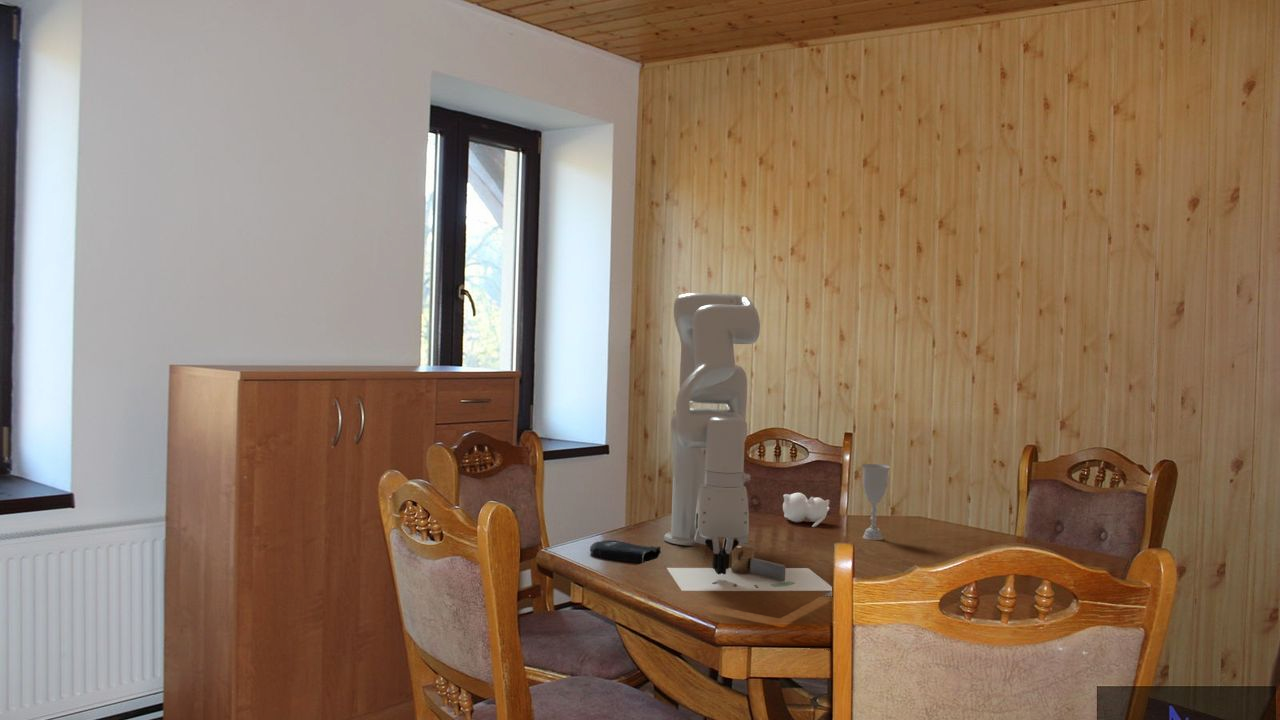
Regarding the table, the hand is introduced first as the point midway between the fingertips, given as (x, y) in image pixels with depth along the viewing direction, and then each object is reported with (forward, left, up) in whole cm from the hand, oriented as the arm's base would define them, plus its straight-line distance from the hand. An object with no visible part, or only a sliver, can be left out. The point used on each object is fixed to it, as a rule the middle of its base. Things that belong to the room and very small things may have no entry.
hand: (720, 572), depth 197 cm
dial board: (-1, +6, -3) cm, 7 cm away
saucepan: (-3, +8, -1) cm, 9 cm away
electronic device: (-25, -16, -3) cm, 30 cm away
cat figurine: (-66, +37, -3) cm, 76 cm away
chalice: (-47, +49, -3) cm, 68 cm away
